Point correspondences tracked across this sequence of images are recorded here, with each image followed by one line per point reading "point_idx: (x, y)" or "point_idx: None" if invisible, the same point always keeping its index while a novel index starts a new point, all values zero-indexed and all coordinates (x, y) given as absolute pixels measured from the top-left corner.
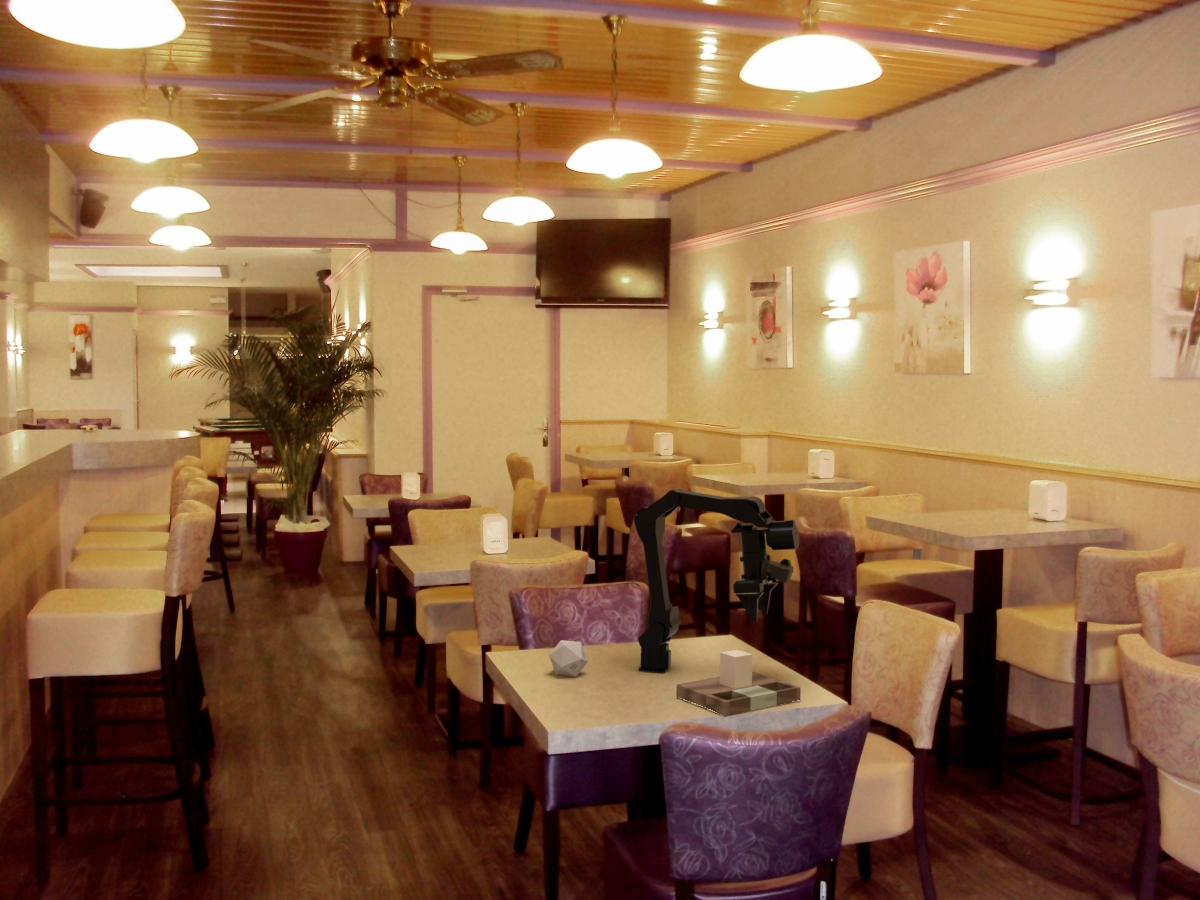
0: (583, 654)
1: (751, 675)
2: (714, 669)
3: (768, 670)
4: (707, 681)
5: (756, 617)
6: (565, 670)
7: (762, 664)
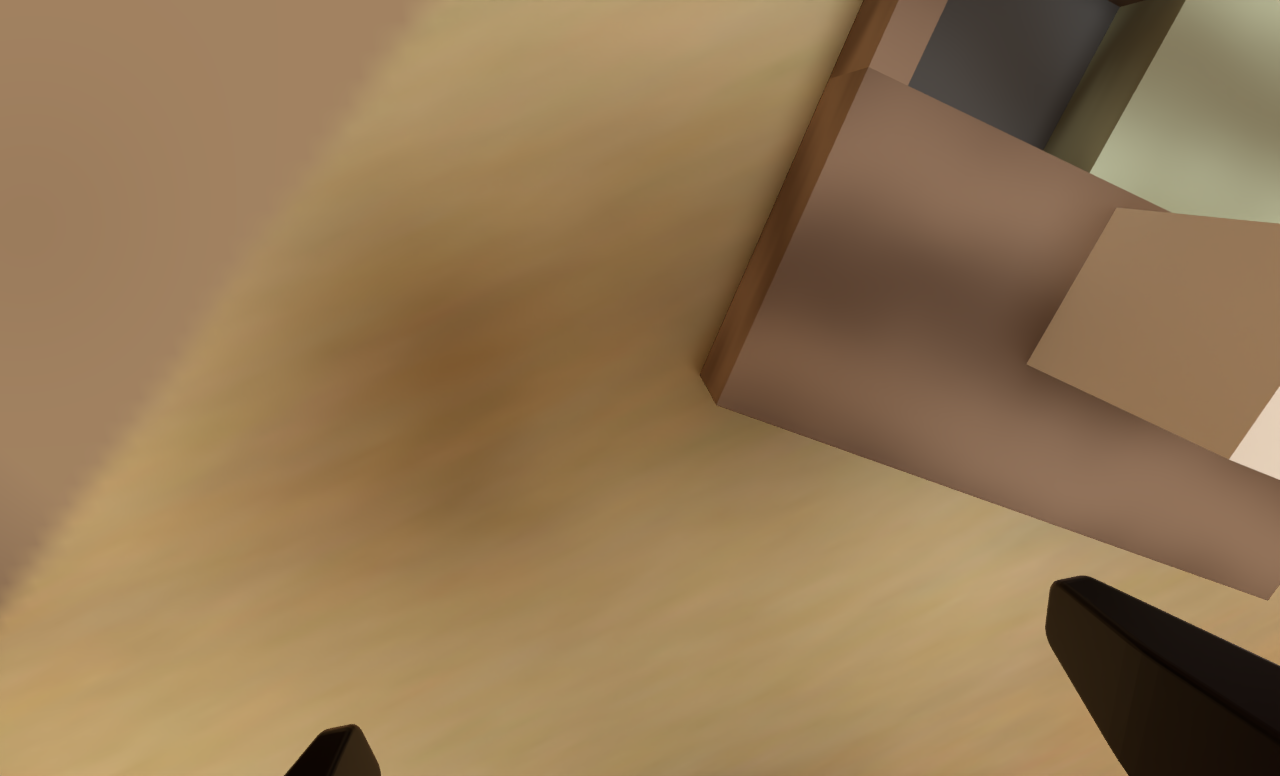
0: None
1: (1187, 216)
2: (518, 690)
3: (280, 438)
4: (1131, 500)
5: (1166, 617)
6: None
7: (164, 541)
